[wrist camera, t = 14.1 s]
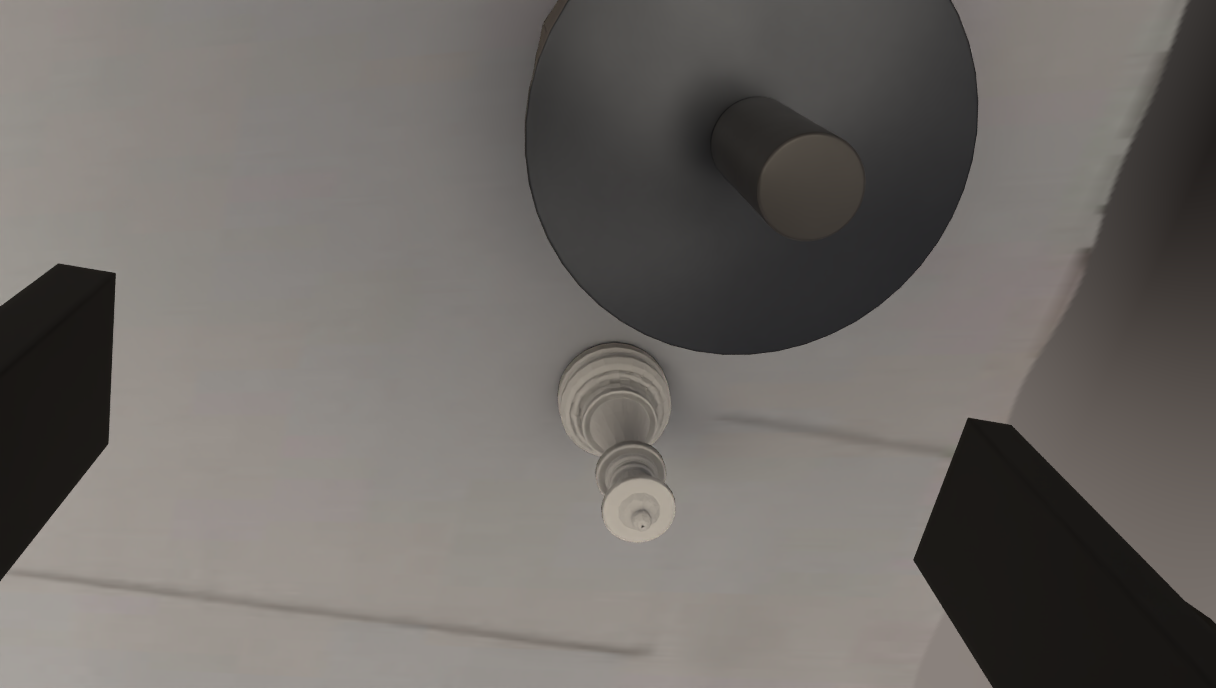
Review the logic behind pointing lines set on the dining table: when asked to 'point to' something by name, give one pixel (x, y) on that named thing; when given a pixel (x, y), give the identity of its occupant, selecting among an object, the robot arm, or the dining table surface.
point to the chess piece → (621, 434)
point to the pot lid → (748, 159)
